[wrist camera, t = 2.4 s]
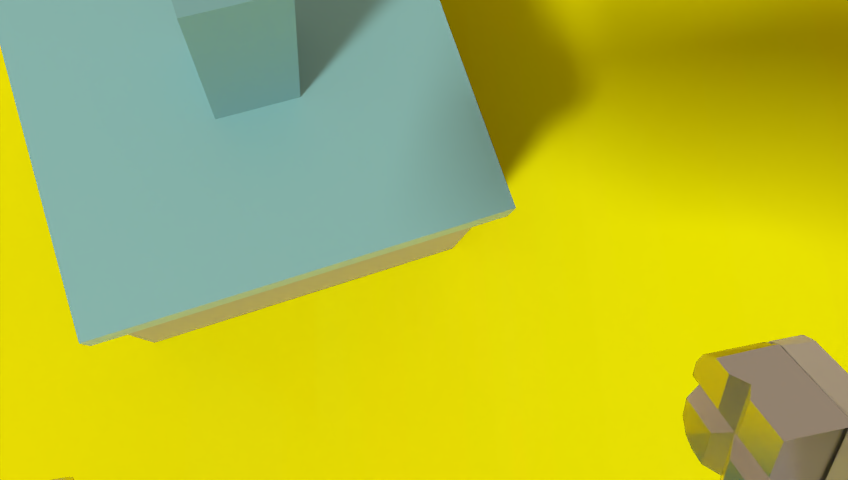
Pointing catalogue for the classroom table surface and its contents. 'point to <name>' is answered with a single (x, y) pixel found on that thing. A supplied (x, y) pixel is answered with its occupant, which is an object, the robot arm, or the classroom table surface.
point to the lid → (239, 144)
